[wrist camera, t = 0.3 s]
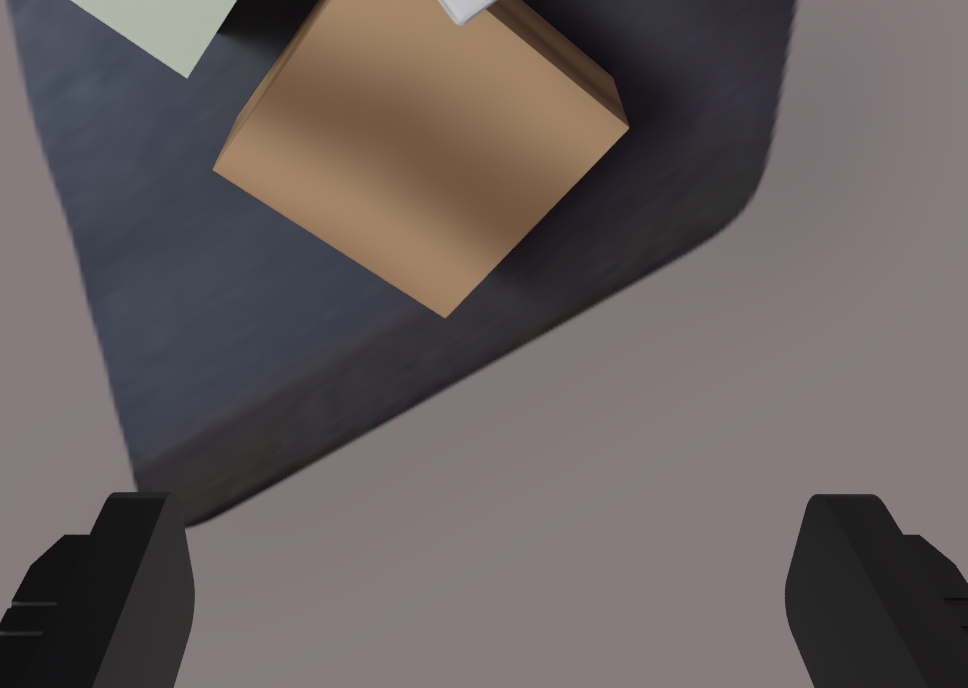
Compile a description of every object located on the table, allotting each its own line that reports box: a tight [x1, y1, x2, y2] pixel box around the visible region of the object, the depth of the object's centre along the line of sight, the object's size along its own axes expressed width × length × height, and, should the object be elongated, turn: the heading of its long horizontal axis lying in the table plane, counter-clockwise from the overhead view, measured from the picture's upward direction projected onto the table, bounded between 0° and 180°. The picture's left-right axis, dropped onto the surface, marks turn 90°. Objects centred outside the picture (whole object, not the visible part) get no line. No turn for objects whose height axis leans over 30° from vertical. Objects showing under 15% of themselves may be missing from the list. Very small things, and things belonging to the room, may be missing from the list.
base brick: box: [213, 0, 630, 318], centre depth 30 cm, size 9×9×4 cm
